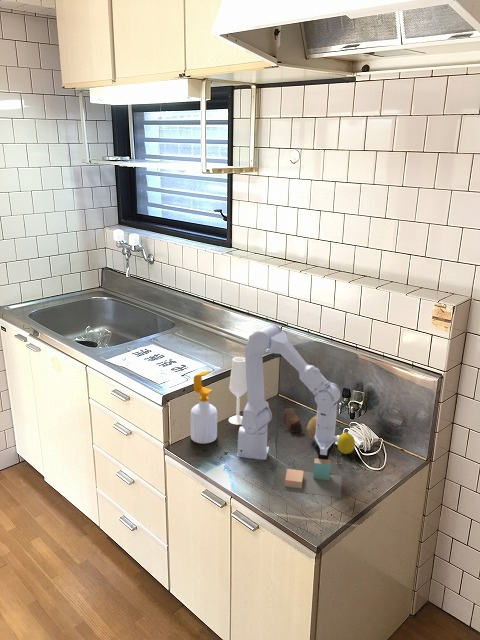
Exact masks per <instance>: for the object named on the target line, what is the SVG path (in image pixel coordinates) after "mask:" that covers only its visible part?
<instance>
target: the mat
mask: <svg viewBox="0 0 480 640" xmlns="http://www.w3.org/2000/svg"><path fill="white" fill-rule="evenodd" d="M287 469H288V468H280V467H279V468H278V467H277V468H276V470H275V474H274V478H273V483H272V489H273V490H280V491H281V490H282V491H288V492H296V493H304V494H311V495H319V496H326V497H333V498H342V475H335V474H330V480H322V479H315V478H313V472H311V471H304V473H303V482H302V489H301V488H294V487H286V486H285V478H286V472H287Z"/></svg>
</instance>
